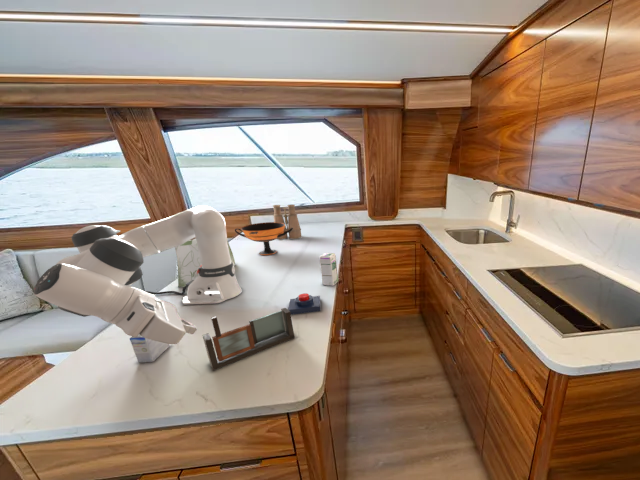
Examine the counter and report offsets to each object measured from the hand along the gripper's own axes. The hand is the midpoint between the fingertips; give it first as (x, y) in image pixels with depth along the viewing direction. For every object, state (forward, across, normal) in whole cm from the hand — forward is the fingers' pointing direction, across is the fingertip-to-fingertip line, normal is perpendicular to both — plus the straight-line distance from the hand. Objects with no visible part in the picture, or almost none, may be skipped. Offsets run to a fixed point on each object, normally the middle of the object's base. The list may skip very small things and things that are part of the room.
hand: (194, 329), depth 80 cm
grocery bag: (+23, -88, +3) cm, 91 cm away
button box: (+37, -17, +17) cm, 44 cm away
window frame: (+19, -1, 0) cm, 19 cm away
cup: (+49, -106, +29) cm, 120 cm away
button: (+34, -17, +20) cm, 43 cm away
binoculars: (+67, -136, +48) cm, 159 cm away
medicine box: (+3, -20, -17) cm, 27 cm away
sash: (+14, 0, -2) cm, 15 cm away
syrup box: (+51, -32, +32) cm, 68 cm away
